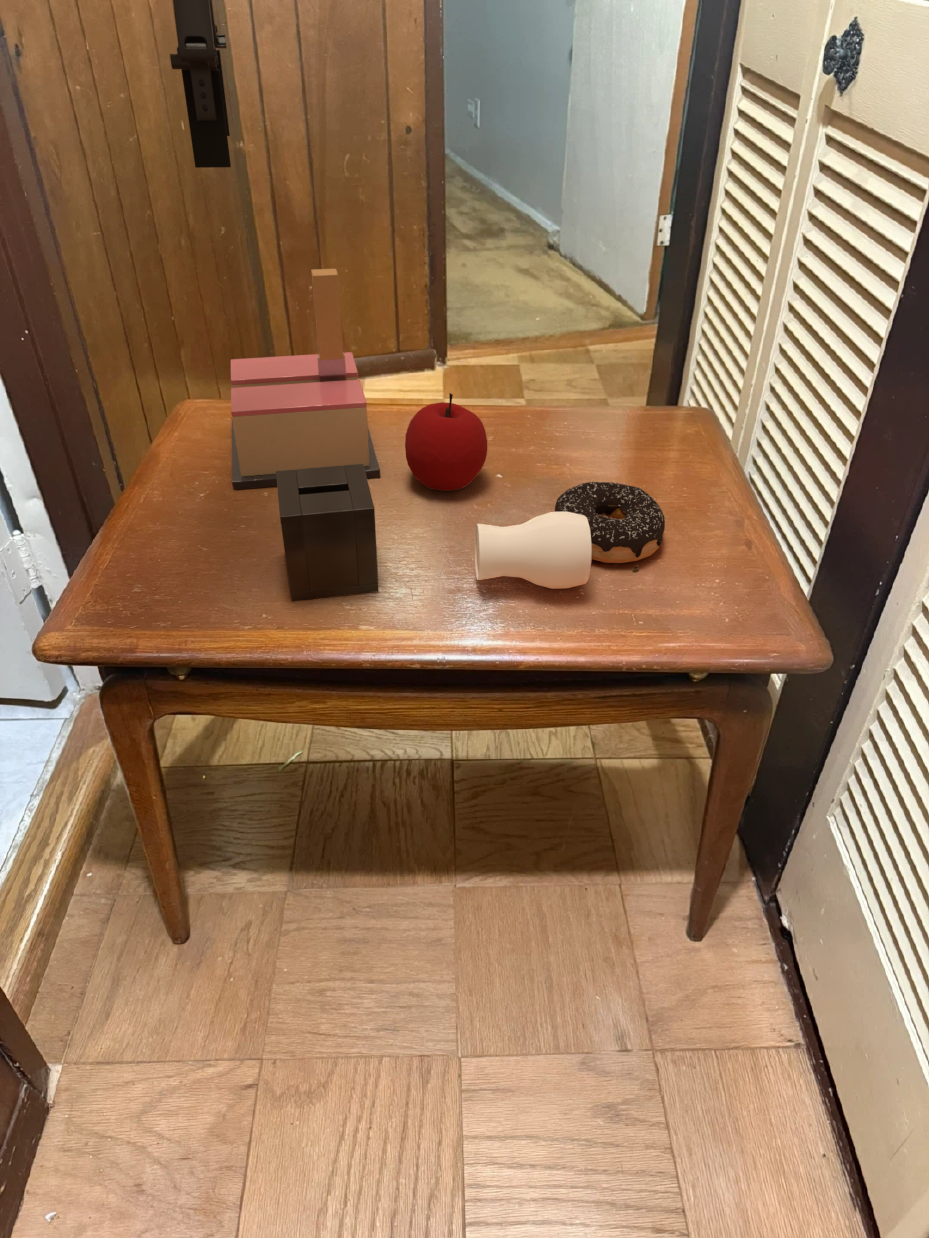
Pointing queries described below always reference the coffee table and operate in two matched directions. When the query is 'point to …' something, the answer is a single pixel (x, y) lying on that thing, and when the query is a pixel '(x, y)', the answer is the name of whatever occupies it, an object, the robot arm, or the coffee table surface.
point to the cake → (295, 419)
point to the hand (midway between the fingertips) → (213, 150)
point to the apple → (445, 446)
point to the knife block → (328, 531)
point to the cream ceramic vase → (537, 550)
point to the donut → (616, 519)
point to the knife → (328, 325)
